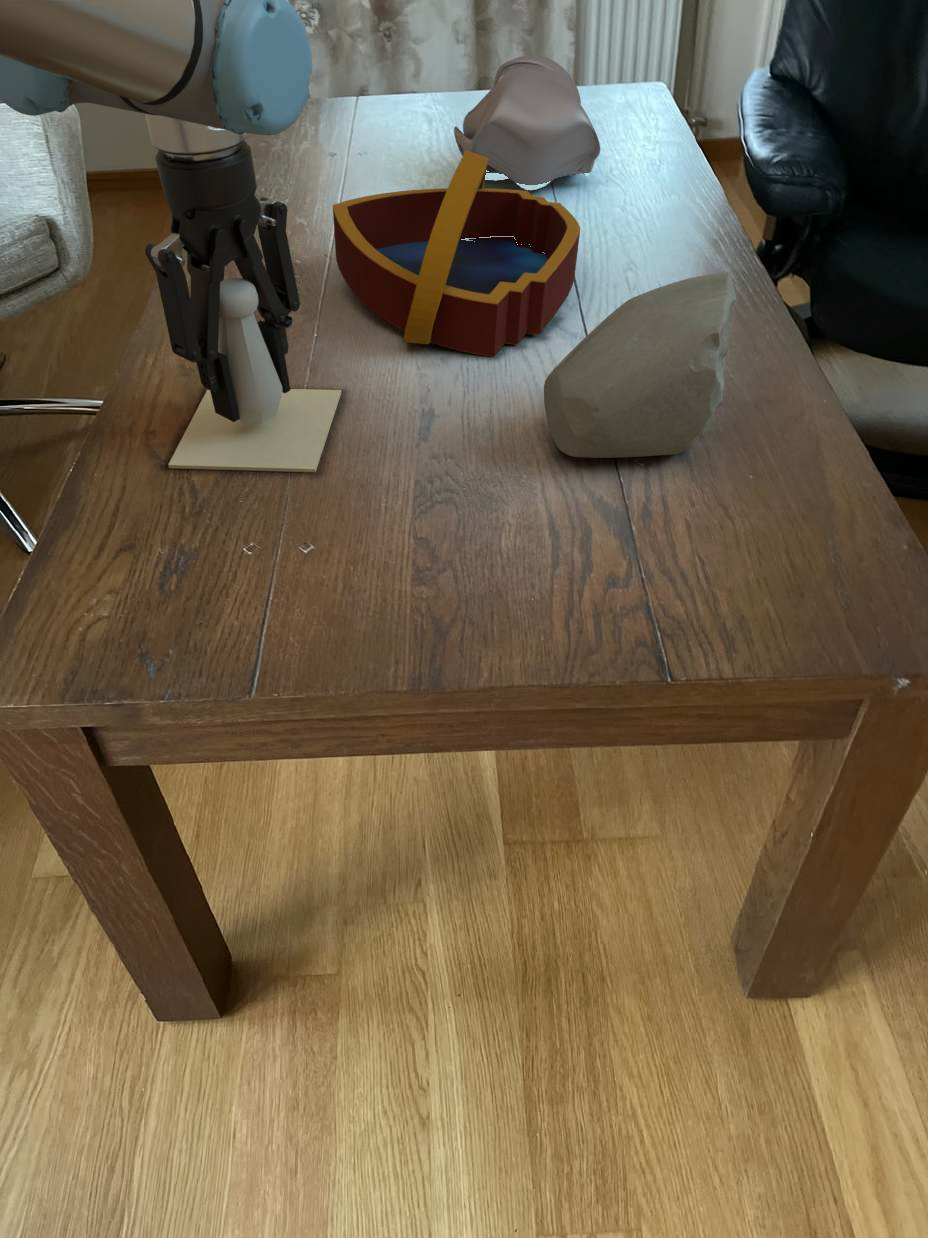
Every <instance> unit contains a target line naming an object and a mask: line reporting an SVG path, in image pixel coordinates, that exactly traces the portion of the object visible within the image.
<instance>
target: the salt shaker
mask: <svg viewBox="0 0 928 1238" xmlns="http://www.w3.org/2000/svg"><path fill="white" fill-rule="evenodd" d="M258 302H259V301H258V294H257V291H256V288H255V287H254V285H253V284H252V283H251V282H249V281H248V280H245V279H243V278H242V277H241V278H240V277H229V278H224V280H223V281H222V282H221V283H220V306H219V340H218V352H219V353H221V354H223V355H226V356H227V360H228V365H229V369H230V374H231V378H232V383H233V388H234V392H235V397H236V402H237V406H238V411H239V416H240V419H239V420H240V421H241V422H242V423H243V424H262V423H264V422H266V421H267V420H269V419H271V418H273V417H274V416H276V414H277V411H278V407H279V403H280V399H281V395H282V385H281V382H280V380H279V377H278V375H277V372H276V370H275V367H274V365H273V362H272V359H271V357H270V354H269V352H268V349H267V347H266V344H265V342H264V339H263V337H262V334H261V331H260V329H259V326H258V323H257V322H258V320H257V318H256V314H255V313H254V312H255V311H258V309H257V307H258Z"/></svg>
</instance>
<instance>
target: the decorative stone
mask: <svg viewBox="0 0 928 1238" xmlns="http://www.w3.org/2000/svg"><path fill="white" fill-rule="evenodd" d="M736 303H737V297H736V290H735V288H734V276H733V275H732V274H731V273H730V272H728V271H727V272H726V271H725V272H719V273H711V274H705V275H698V276H692V277H689V278H685V279H682V280H678V281H675V282H672V283H669V284H665V285H663V286H662V285H661V286H659V287H656V288H654V289H651V290H649V291H646V292H643V293H641V294H638V295H636V296H633V297H632V298H630V299H628V300H626V301H625V302H623V303H622V304H621V305H620V306H618V307H617V308H616V309H615V310H614V311H612V312H611V313H610V314H609V315H608V316H607V317H605V319H603V320H602V321H601V322H600V323H599V324H598V325H597V326H596V327H594V329H592V331H590V332H589V333H588V334H587V335H586V336H585V337H584V338H583V339H582V340H580V342H579V343H578V344H577V345H576V346H575V347H574V348H573V349H572V350H571V351H570V352H569V353H568V354H566V356H565V357H564V358H563V359H562V360H561V361H560V362H559V363H558V364H557V365H556V366H555V367H554V369H552V370H551V372H550V373H549V374H548V375H547V377H546V378H545V380H544V384H543V404H544V405H543V406H544V413H545V418H546V422H547V427H548V430H549V433H550V436H551V438H552V440H553V442H554V443H555V444H554V445H556V448H558V450H559V451H561V452H562V453H563V454H565V455H566V456H570V457H573V458H594V459H595V458H598V459H599V458H601V459H602V458H603V459H605V458H606V459H608V458H609V459H610V458H635V457H654V456H655V457H656V456H669V455H671V456H672V455H679V454H681V453H683V451H685V450H686V449H687V448H688V447H689V446H690V445H691V444H692V443H693V442H694V441H695V440H696V439H697V438H698V437H699V436H700V435H701V433H702V431H703V430H704V428H705V427H706V426H707V424H708V422H709V420H710V419H711V418H712V416H713V415H714V412H715V411H717V409H718V408H720V407H721V406H723V405H724V401H723V391H724V387H725V377H724V371H723V367H724V358H725V357H726V356H727V355H728V340H729V339H728V338H729V332H730V326H731V322H732V319H733V316H734V312H735V305H736Z"/></svg>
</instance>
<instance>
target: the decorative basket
mask: <svg viewBox="0 0 928 1238" xmlns="http://www.w3.org/2000/svg"><path fill="white" fill-rule="evenodd" d="M487 163H488V158H487V157H484V156H482V155H479V154H476V153H473V152H470V151H467V150H465V152H464V154H463V156H462V155H461V159H460V161H459V163H458V165H457V168H456V169H455V171H454V172H453V173H454V174H453V175H452V178H451V180H450V182H449V184H448V186H447V187H442V188H441V187H439V188H423V189H422V188H421V189H409V190H397V191H391V192H384V193H376V194H371V195H365V196H361V197H357V198H352V199H347V200H345V201H341V202H338V203H334V204H332V217H333V232H334V233H333V234H334V250H335V261H336V265H337V267H338V270H339V272H340V274H341V276H342V278H343V280H344V281H345V283H346V285H347V286H348V287H349V289H350V290H351V292H352V293H353V294H354V295H355V297H356V298H357V299H358V300H359V301H360V302H362V303H363V304H364V306H366V307H367V308H368V309H369V310H370V311H372V312H373V313H375V314H376V315H378V316H379V317H380V318H381V319H383V320H385V321H387V322H388V323H389V324H391V325H393V326H394V327H396V328H398V329H399V330H401V331H404V335H403V341H404V343H408V344H420V345H429V344H435V345H437V346H441V347H443V348H444V347H445V348H447V349H452V350H456V351H460V352H463V353H468V354H474V355H479V356H485V357H493V358H494V357H495V356H496V355H497V354H498V353H499V351H500V350H501V349H502V348H503V347H504V345H505V344H507V345H508V344H509V345H519V343H520V342H521V340H522V339H523V338H524V337H525V335H526V334H528V335H530V334H531V335H537V336H538V335H541V333H542V332H543V331H544V329H545V328H546V327H547V326H548V324H549V323H550V322H551V321H552V320H553V318H554V317H555V316H556V314H557V313H558V311H559V310H560V309H561V307H562V306H563V304H564V303H565V301H566V300H567V298H568V296H569V294H570V292H571V289H572V288H573V285H574V282H575V277H576V269H577V261H578V260H577V259H578V252H579V244H580V237H581V226H580V224H579V222H578V221H577V219H576V218H575V217H574V215H573V214H572V213H571V212H570V211H569V210H568V209H567V208H566V207H565V206H564V205H563V204H562V203H561V202H555V201H554V202H553V201H548V200H547V199H546V198H545V197H544V196H537V195H536V196H535V195H532V194H531V193H530V191H526V190H523V189H511V188H509V189H508V188H490V187H487V188H486V187H485V188H484V185H485V181H486V180H485V175H486V169H487ZM490 236H514V237H515V239H516V240H515V239H514V237H491V238H479V237H490ZM465 238H476V239H469V240H473V241H466V240H461V239H465ZM474 241H475V242H474ZM516 242H517V243H516ZM517 244H518V245H517ZM521 244H522V245H521ZM529 244H530V245H529ZM530 246H531V247H530ZM542 252H544V253H545V254H544V253H542Z"/></svg>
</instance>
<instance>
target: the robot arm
mask: <svg viewBox="0 0 928 1238" xmlns="http://www.w3.org/2000/svg"><path fill="white" fill-rule="evenodd" d="M312 73H313V56H312V49H311V43H310V38H309V35H308V32H307V29H306V26H305V24H304V21H303V20H302V18H301V16H300V15H299V13H298V12H297V10H296V9H295V7H294V6H293V5H292V4H291V3H290V2H289V1H288V0H0V101H1V102H2V103H4V104H5V105H6V106H8V107H9V108H10V109H12V110H13V111H15V112H17V113H19V114H22V115H25V116H31V117H32V116H33V117H36V116H41V115H45V114H50V113H53V112H57V113H63V112H66V111H67V110H68V108H69V107H71V106H73V105H77V104H85V103H86V104H94V105H99V106H103V107H108V108H113V109H119V110H122V111H123V110H124V111H129V112H134V113H139V114H144V116H145V121H146V126H147V131H148V134H149V139H150V143H151V145H152V146H153V147H154V148H155V149H157V150H158V151H157V153H156V155H155V162H156V163H155V164H156V167H157V170H158V175H159V176H158V177H159V181H160V184H161V188H162V193H163V197H164V199H165V201H166V202H167V205H168V207H169V209H170V212H171V222H170V227H169V229H170V234H169V235H168V236H166V238H165V239H163V240H162V241H161V242H160V243H158V244H155V243H153V242H150V243H148V244H147V245H146V246H145V249H144V253H145V257H146V258H147V259H148V261H149V264H150V265H151V266H152V268H153V270H154V272H155V275H156V280H157V284H158V289H159V294H160V299H161V303H162V309H163V313H164V318H165V322H166V323H165V324H166V327H167V332H168V337H169V342H170V346H171V351H172V353H173V354H174V355H176V356H178V357H181V358H182V359H185V360H187V361H189V362H191V363H196V366H197V371H198V374H199V378H200V383H201V386H202V387H203V388H204V389H206V390H207V389H208V390H210V392H211V396H212V400H213V405H214V409H215V413H217V414H219V415H221V416H223V417H225V418H227V419H228V420H230V421H232V422H236V421H237V420H239V419H240V416H239V411H238V406H237V402H236V397H235V392H234V388H233V383H232V378H231V374H230V369H229V365H228V360H227V356H226V355H223V354H221V353H219V306H220V283H221V282H222V281H223V280H224V279H225V268H226V267H227V266H228V265H229V264H230V263H231V262H232V261H233V262H234V264H235V266H236V268H237V270H238V272H239V274H240V276H241V278H242V279H245V280H248V281H249V282H251V283H252V284H253V285H254V287H255V288H256V291H257V294H258V301H259V302H258V307H257V311H258V312H257V313H259V316H260V317H261V318H262V319H263V320H264V321H263V320H257V323H258V326H259V329H260V331H261V334H262V337H263V339H264V342H265V344H266V347H267V349H268V352H269V354H270V357H271V359H272V362H273V365H274V367H275V370H276V372H277V375H278V377H279V380H280V382H281V385H282V392H283V393H287V392H289V391H290V389H291V385H290V379H289V373H288V368H287V362H286V355H287V354H288V353H289V348H290V347H289V341H288V335H287V330H286V329H288V328H290V327H292V324H293V317H292V316H290V314H291V313H292V312H297V311H299V309H300V307H301V301H300V296H299V291H298V286H297V285H298V284H297V281H296V275H295V269H294V265H293V264H294V263H293V260H292V254H291V250H290V244H289V239H288V234H287V221H288V220H287V219H288V207H287V205H286V204H285V203H283V202H281V201H277V200H274V199H271V198H269V197H266V196H265V197H264V196H263V197H260V199H258V198H257V196H256V194H255V193H256V192H257V187H258V183H257V178H256V177H257V176H256V171H255V165H254V160H253V159H254V158H253V153H252V148H251V146H250V144H249V143H247V141H245V139H247V136H248V134H252V135H260V136H275V135H278V134H280V133H283V132H284V131H286V130H287V129H289V128H290V127H291V126H292V125H294V123H296V121H297V119H298V118H299V117H300V116H301V114H302V112H303V110H304V108H305V106H306V103H307V100H308V97H309V93H310V89H309V88H310V87H309V86H310V84H311V76H312ZM256 231H257V232H258V237H259V241H260V246H261V248H260V246H259V244H258V242H257V239H256V237H255V234H256ZM183 250H184V251H185V252H186V261H185V259H184V258H183V253H182V251H183ZM263 260H264V262H263ZM185 264H186V269H187V273H188V274H189V276H190V289H189V284H188V279H187V275H186V273H185V270H184V268H183V267H184V266H185Z"/></svg>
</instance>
